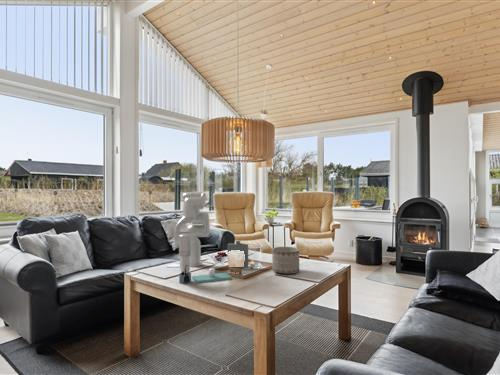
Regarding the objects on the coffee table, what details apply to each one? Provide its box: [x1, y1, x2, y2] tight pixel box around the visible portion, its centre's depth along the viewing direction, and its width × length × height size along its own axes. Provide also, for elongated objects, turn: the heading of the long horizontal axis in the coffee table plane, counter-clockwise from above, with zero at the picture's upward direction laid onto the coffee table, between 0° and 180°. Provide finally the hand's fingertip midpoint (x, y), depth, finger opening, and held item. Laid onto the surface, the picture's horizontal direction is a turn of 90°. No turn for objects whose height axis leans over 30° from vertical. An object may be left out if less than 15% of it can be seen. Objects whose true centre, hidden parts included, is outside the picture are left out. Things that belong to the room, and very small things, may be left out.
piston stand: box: [191, 267, 233, 284], centre depth 217 cm, size 12×24×6 cm, turn 112°
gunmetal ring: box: [178, 272, 192, 284], centre depth 210 cm, size 7×7×5 cm
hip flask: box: [227, 240, 249, 268], centre depth 248 cm, size 16×4×20 cm, turn 83°
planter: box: [271, 246, 300, 275], centre depth 233 cm, size 19×19×16 cm
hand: (185, 280), depth 210 cm, fingers closed on gunmetal ring, 7 cm apart
